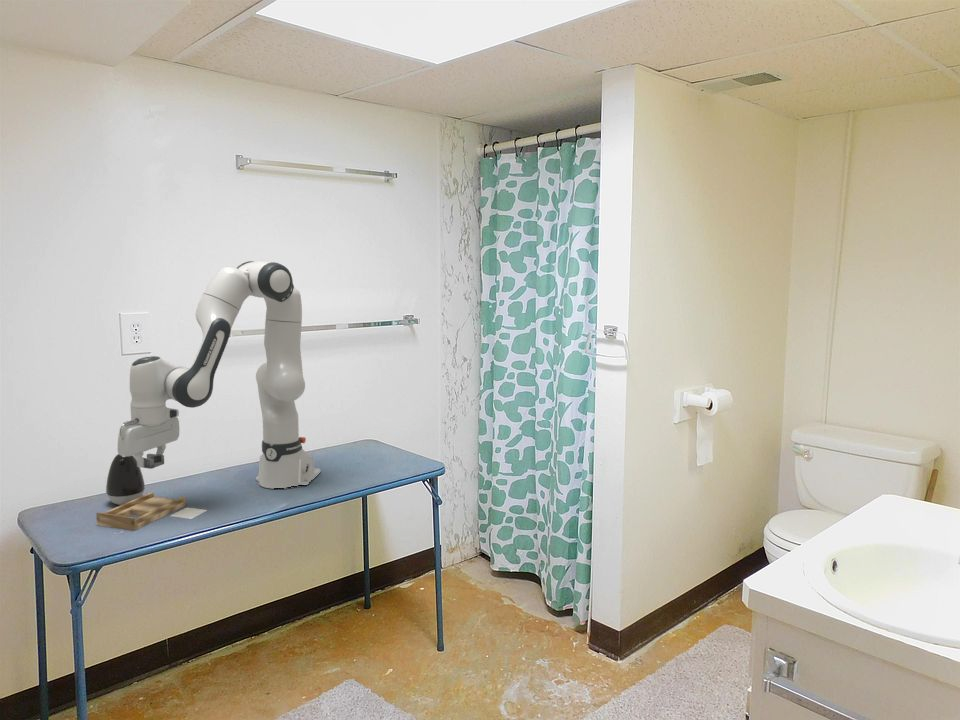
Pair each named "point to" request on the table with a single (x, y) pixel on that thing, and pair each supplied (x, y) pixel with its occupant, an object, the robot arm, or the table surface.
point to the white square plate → (189, 513)
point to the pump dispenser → (124, 480)
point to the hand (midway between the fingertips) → (150, 463)
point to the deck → (139, 512)
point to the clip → (153, 461)
